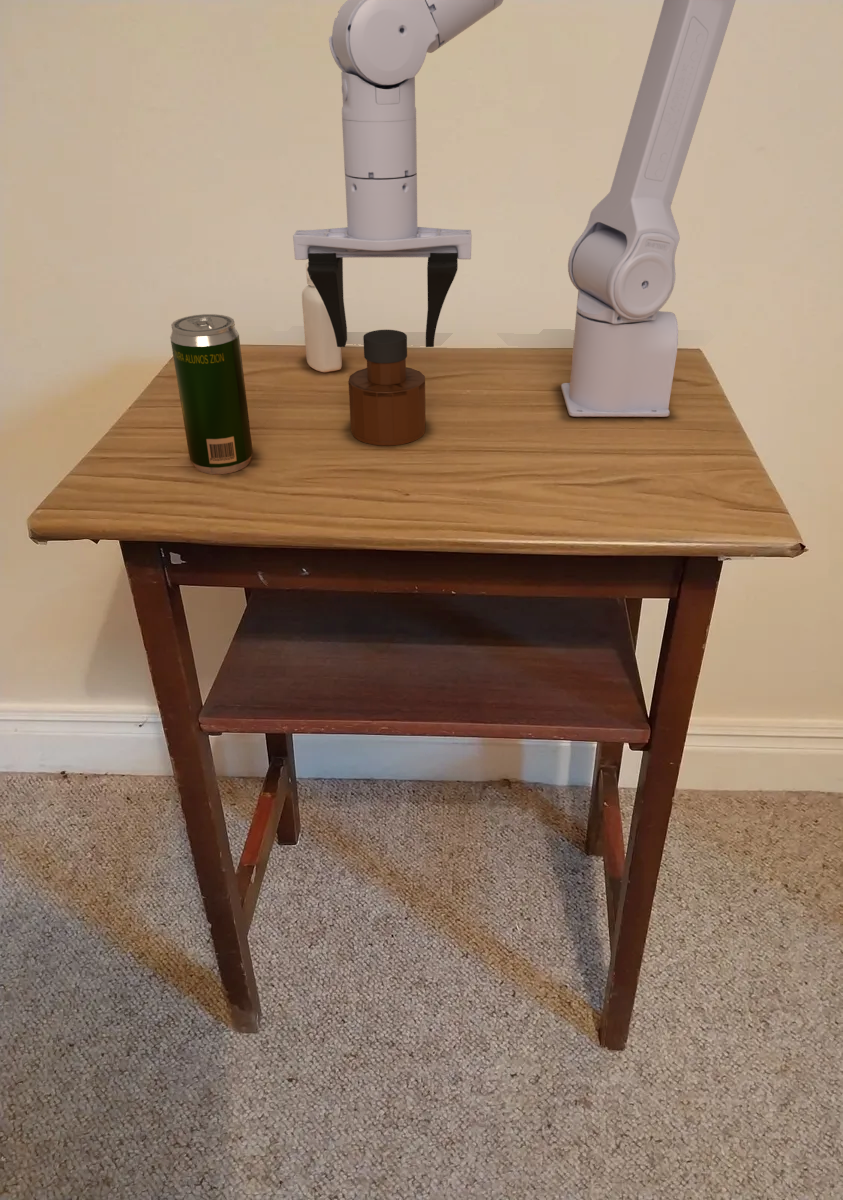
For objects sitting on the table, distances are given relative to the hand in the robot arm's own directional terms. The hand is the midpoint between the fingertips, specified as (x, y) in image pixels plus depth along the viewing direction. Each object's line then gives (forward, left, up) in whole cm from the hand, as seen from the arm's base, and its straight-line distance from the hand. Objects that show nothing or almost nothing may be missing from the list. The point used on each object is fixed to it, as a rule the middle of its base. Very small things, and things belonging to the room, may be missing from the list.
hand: (385, 343), depth 79 cm
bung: (0, 0, -2) cm, 2 cm away
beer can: (+14, +7, -8) cm, 18 cm away
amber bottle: (0, 0, -8) cm, 8 cm away
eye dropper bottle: (+8, -18, -8) cm, 21 cm away
